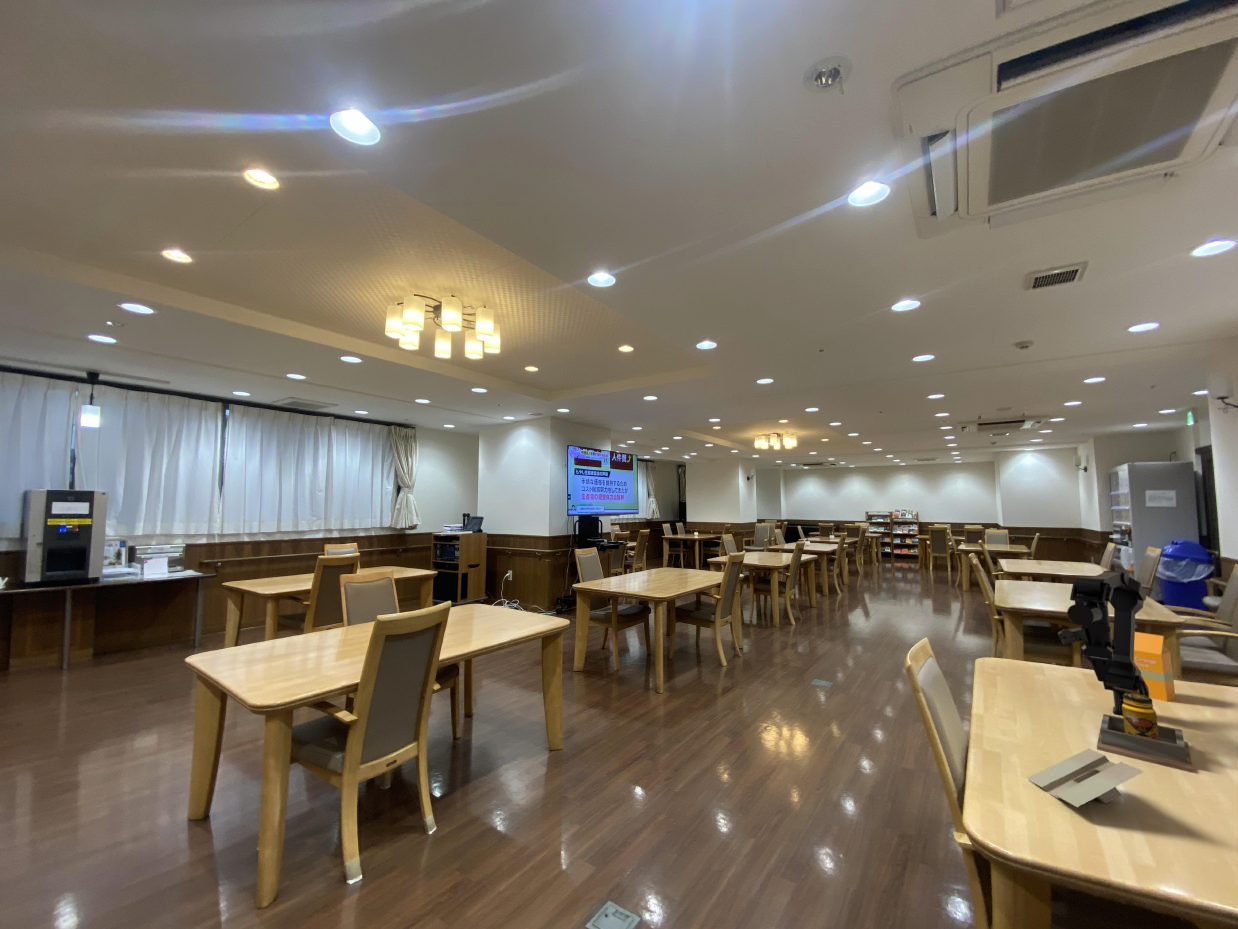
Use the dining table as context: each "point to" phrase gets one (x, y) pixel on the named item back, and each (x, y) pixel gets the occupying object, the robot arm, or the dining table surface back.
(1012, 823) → the dining table surface
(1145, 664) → the orange juice
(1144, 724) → the condiment
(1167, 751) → the well caddy
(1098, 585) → the robot arm
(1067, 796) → the grey slotted panel
